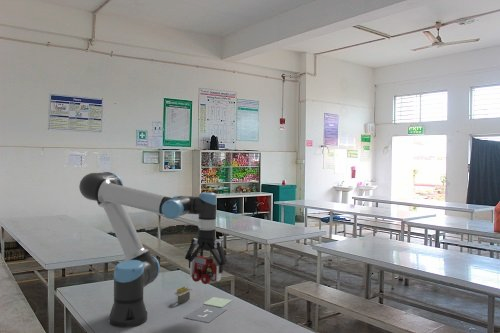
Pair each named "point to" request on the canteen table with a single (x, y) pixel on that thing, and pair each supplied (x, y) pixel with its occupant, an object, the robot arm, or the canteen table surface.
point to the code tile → (205, 313)
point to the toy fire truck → (204, 270)
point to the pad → (217, 302)
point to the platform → (183, 294)
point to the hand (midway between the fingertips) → (205, 278)
